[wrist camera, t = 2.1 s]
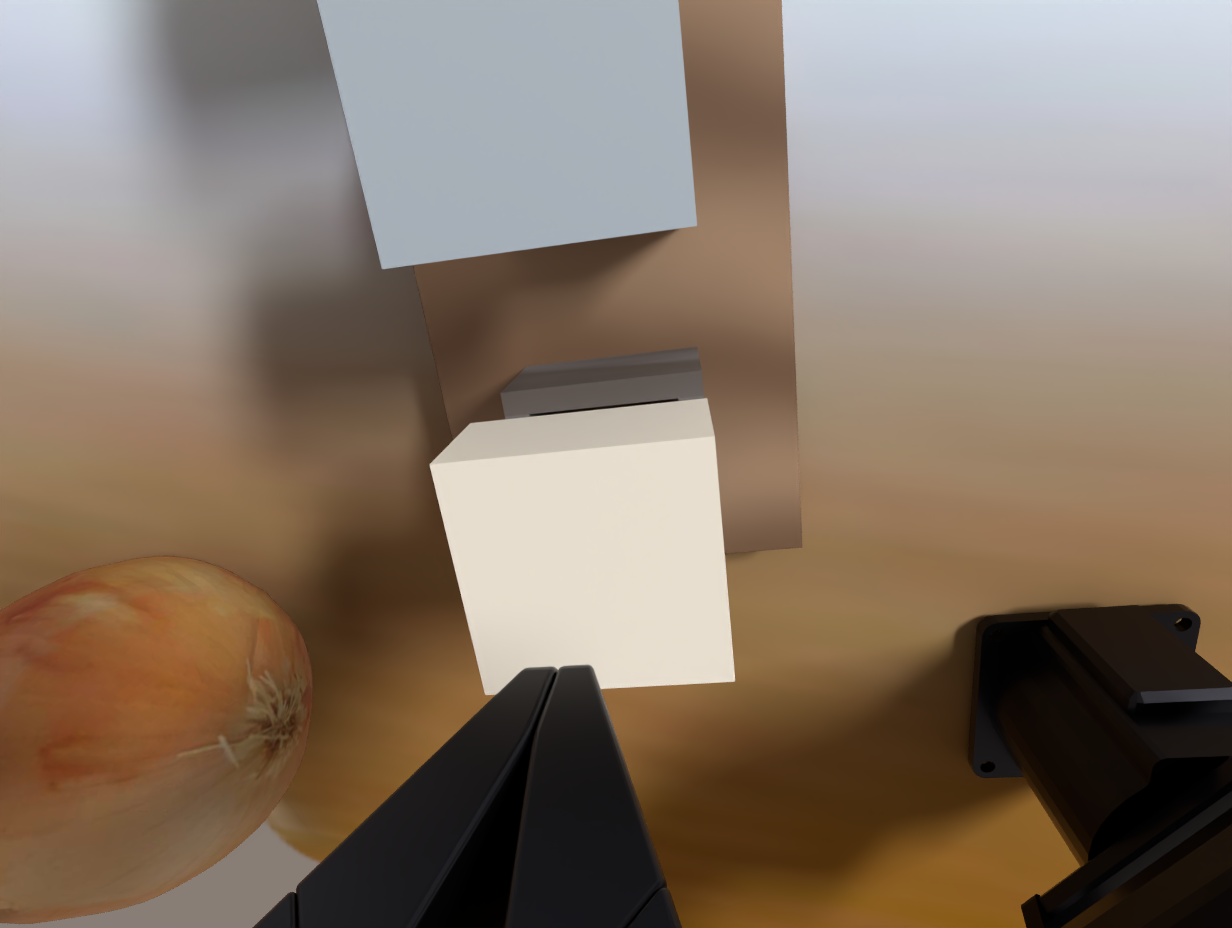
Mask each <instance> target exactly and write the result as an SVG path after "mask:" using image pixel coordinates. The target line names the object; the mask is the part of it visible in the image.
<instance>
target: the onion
mask: <svg viewBox="0 0 1232 928" xmlns="http://www.w3.org/2000/svg"><path fill="white" fill-rule="evenodd" d="M312 700H313V688H312V669H311V664H310V659H309V655H308V652H307V648H306V645H305V642H304V640H303V637H302V635H301V633H300V632H299V630H298V628H297V626H296V625H295V623H294V622H293V621H292V619H291V618H290V617H289V616H288V615H287V614H286V613H285V612H284V610H283V609H282V608H281V607H280V606H279V605H278V604H277V603H276V602H275V601H274V600H273V599H272V598H271V597H270V596H269V595H268V594H267V593H265V592H264V591H263V590H262V589H260V588H258V587H256V586H254V585H252V584H250V583H248V582H246V581H245V580H243V579H242V578H240V577H239V576H237V575H236V574H234V573H232V572H230V571H228V570H226V569H223V568H221V567H218V566H215V565H212V564H209V563H206V562H203V561H199V560H195V559H189V558H183V557H175V556H157V557H146V558H136V559H130V560H126V561H122V562H118V563H113V564H109V565H103V566H98V567H94V568H90V569H87V570H83V571H80V572H76V573H73V574H71V575H68V576H66V577H64V578H62V579H60V580H57V581H55V582H53V583H51V584H49V585H47V586H45V587H43V588H41V589H39V590H37V591H35V592H33V593H31V594H29V595H27V596H25V597H23V598H21V599H19V600H17V601H16V602H14V603H12V604H11V605H9V606H7V607H6V608H4V609H3V610H1V611H0V923H15V924H31V923H32V924H33V923H40V922H48V921H55V920H61V919H67V918H74V917H81V916H87V915H93V914H99V913H104V912H109V911H114V910H118V909H122V908H126V907H129V906H132V905H136V904H140V903H143V902H145V901H148V900H150V899H153V898H155V897H158V896H160V895H162V894H163V893H165V892H168V891H170V890H171V889H173V888H175V887H177V886H179V885H181V884H183V883H185V882H186V881H188V880H190V879H191V878H193V877H195V876H197V875H198V874H200V873H202V872H203V871H205V870H207V869H208V868H210V867H211V866H213V865H214V864H216V863H217V862H218V861H220V860H221V859H223V858H224V857H225V856H227V855H228V854H229V853H230V852H232V851H233V850H234V849H235V848H237V847H238V846H239V845H240V844H241V843H242V842H243V841H244V840H245V839H247V838H248V837H249V836H250V835H251V834H252V833H253V832H254V831H255V830H256V829H257V828H258V827H259V826H260V825H261V824H262V823H263V822H264V821H265V820H266V818H267V817H268V816H269V814H270V813H271V812H272V810H273V809H274V808H275V806H276V805H277V804H278V802H279V801H280V799H281V798H282V797H283V795H284V794H285V792H286V791H287V789H288V787H289V785H290V784H291V782H292V780H293V778H294V776H295V774H296V772H297V770H298V768H299V765H300V763H301V761H302V758H303V755H304V752H305V748H306V743H307V737H308V731H309V725H310V718H311V711H312Z"/></svg>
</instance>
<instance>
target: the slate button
mask: <svg viewBox="0 0 1232 928" xmlns="http://www.w3.org/2000/svg"><path fill="white" fill-rule="evenodd" d="M317 3H318V7H319V12H320V16H321V20H322V24H323V28H324V32H325V36H326V40H327V45H328V49H329V53H330V57H331V61H332V65H333V69H334V73H335V78H336V82H337V86H338V90H339V94H340V98H341V102H342V106H343V110H344V115H345V119H346V123H347V127H348V131H349V135H350V139H351V143H352V148H353V152H354V156H355V160H356V164H357V168H358V172H359V176H360V181H361V185H362V189H363V193H364V197H365V201H366V205H367V209H368V213H369V218H370V222H371V226H372V230H373V234H374V238H375V242H376V246H377V251H378V255H379V259H380V263H381V267H382V269H388V268H395V267H402V266H410V265H417V264H424V263H432V262H439V261H446V260H453V259H461V258H468V257H475V256H482V255H490V254H497V253H504V252H512V251H519V250H526V249H533V248H541V247H548V246H555V245H562V244H570V243H577V242H584V241H592V240H599V239H606V238H613V237H621V236H628V235H635V234H642V233H650V232H657V231H664V230H672V229H679V228H686V227H693V226H697V217H696V205H695V193H694V181H693V169H692V157H691V146H690V134H689V122H688V110H687V98H686V86H685V74H684V62H683V50H682V38H681V26H680V14H679V2H678V0H317Z"/></svg>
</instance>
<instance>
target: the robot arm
mask: <svg viewBox="0 0 1232 928" xmlns="http://www.w3.org/2000/svg"><path fill="white" fill-rule="evenodd" d="M1181 618H1182V620H1181V621H1180V622H1178V623H1176V621H1178V620H1179V619H1181ZM1175 623H1176V624H1175ZM1200 624H1201V622H1200V617H1199V616H1198V614H1196V613H1195V612H1194V611H1192V610H1191V609H1190V608H1188V607H1187V606H1185V605H1182V604H1169V605H1153V606H1138V605H1130V606H1114V607H1099V608H1083V609H1067V610H1057V611H1054V612H1042V613H1026V614H1010V615H994V616H989V617H986V618H985V619H983V620H982V621H981V622H980V623H979V624H978V627H977V632H976V647H975V662H974V678H973V693H972V708H971V723H970V738H969V753H968V761H969V764H970V766H971V768H972V769H973V771H974V773H975V774H976V775H978V776H980V777H983V778H999V777H1024V778H1025V779H1026V781H1027V782H1028V784H1029V786H1030V787H1031V789H1032V790H1033V792H1034V794H1035V795H1036V797H1037V798H1038V800H1039V801H1040V803H1041V805H1042V806H1043V808H1044V809H1045V811H1046V813H1047V814H1048V816H1049V817H1050V819H1051V820H1052V822H1053V824H1054V825H1055V827H1056V828H1057V830H1058V832H1059V833H1060V835H1061V836H1062V838H1063V839H1064V841H1065V843H1066V844H1067V846H1068V847H1069V849H1070V851H1071V852H1072V854H1073V855H1074V857H1075V858H1076V860H1077V862H1078V863H1079V865H1080V866H1081V867H1080V868H1078V869H1077V870H1075V871H1074V872H1073V873H1071V874H1070V875H1069V876H1067V877H1066V878H1065V879H1063V880H1062V881H1061V882H1059V883H1058V884H1056V885H1055V886H1054V887H1052V888H1051V889H1050V890H1048V891H1047V892H1046V893H1044V894H1043V895H1041V896H1040V895H1038V894H1036V895H1034V896H1033V897H1031V898H1030V899H1029V900H1027V901H1026V902H1025V903H1023V904H1022V905H1021V909H1022V912H1023V916H1024V920H1025V924H1026V928H1232V682H1231V681H1230V680H1228V679H1227V678H1226V677H1225V676H1224V675H1222V674H1221V673H1220V672H1219V671H1218V670H1216V669H1215V668H1214V667H1213V666H1212V665H1210V664H1209V663H1208V662H1207V661H1205V660H1204V659H1203V658H1202V657H1201V656H1199V655H1198V654H1197V653H1196V652H1195V649H1196V644H1197V639H1198V634H1199V629H1200ZM996 629H1000V631H999V632H998V633H997V634H994V635H990V634H991V632H993V631H994V630H996ZM987 761H988V762H987ZM984 762H987V763H984ZM982 763H984V764H982ZM253 928H682V926H681V923H680V920H679V917H678V914H677V911H676V909H675V906H674V903H673V900H672V897H671V894H670V891H669V890H668V889H667V884H666V880H665V877H664V874H663V871H662V868H661V866H660V863H659V860H658V857H657V854H656V851H655V848H654V845H653V842H652V839H651V836H650V833H649V830H648V827H647V824H646V821H645V818H644V815H643V812H642V809H641V807H640V804H639V801H638V798H637V795H636V792H635V789H634V786H633V783H632V780H631V777H630V774H629V771H628V768H627V765H626V762H625V759H624V756H623V753H622V751H621V748H620V745H619V742H618V739H617V736H616V733H615V730H614V727H613V724H612V721H611V718H610V715H609V712H608V709H607V706H606V703H605V700H604V697H603V694H602V692H601V689H600V686H599V683H598V680H597V677H596V674H595V671H594V668H593V667H592V666H591V665H568V666H562V667H560V668H559V669H557V668H555V667H553V666H548V667H529V668H525V669H523V670H522V671H520V672H519V673H518V674H517V675H516V676H515V677H514V678H513V679H512V680H511V681H510V682H509V683H508V684H507V685H506V686H505V687H504V688H502V689H501V690H500V691H499V692H498V693H497V694H496V695H495V696H494V697H493V698H492V699H491V700H490V701H489V702H488V703H487V704H486V705H485V706H484V707H483V708H482V709H481V710H480V711H478V712H477V713H476V714H475V715H474V716H473V717H472V718H471V719H470V720H469V721H468V722H467V723H466V724H465V725H464V726H463V727H462V728H461V729H460V730H459V731H458V732H457V733H456V734H454V735H453V736H452V737H451V738H450V739H449V740H448V741H447V742H446V743H445V744H444V745H443V746H442V747H441V748H440V749H439V750H438V751H437V752H436V753H435V754H434V755H433V756H432V757H430V758H429V759H428V760H427V761H426V762H425V763H424V764H423V765H422V766H421V767H420V768H419V769H418V770H417V771H416V772H415V773H414V774H413V775H412V776H411V777H410V778H409V779H408V780H406V781H405V782H404V783H403V784H402V785H401V786H400V787H399V788H398V789H397V790H396V791H395V792H394V793H393V794H392V795H391V796H390V797H389V798H388V799H387V800H386V801H385V802H384V803H382V804H381V805H380V806H379V807H378V808H377V809H376V810H375V811H374V812H373V813H372V814H371V815H370V816H369V817H368V818H367V819H366V820H365V821H364V822H363V823H362V824H361V825H360V826H359V827H357V828H356V829H355V830H354V831H353V832H352V833H351V834H350V835H349V836H348V837H347V838H346V839H345V840H344V841H343V842H342V843H341V844H340V845H339V846H338V847H337V848H336V849H335V850H333V851H332V852H331V853H330V854H329V855H328V856H327V857H326V858H325V859H324V860H323V861H322V862H321V863H320V864H319V865H318V866H317V867H316V868H315V869H314V870H313V871H312V872H311V873H310V874H309V875H307V876H306V877H305V878H304V879H303V880H302V881H301V882H300V883H299V884H298V886H297V888H296V893H294V892H290V893H288V894H287V895H286V896H285V897H284V898H283V899H282V900H281V901H280V902H279V903H278V904H277V905H276V906H275V907H274V908H273V909H272V910H271V911H269V912H268V913H267V914H266V915H265V916H264V917H263V918H262V919H261V920H260V921H259V922H258V923H257V924H256V925H255V926H254V927H253Z"/></svg>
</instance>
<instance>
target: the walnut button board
mask: <svg viewBox="0 0 1232 928" xmlns="http://www.w3.org/2000/svg"><path fill="white" fill-rule="evenodd" d="M678 2H679V14H680V26H681V38H682V50H683V62H684V74H685V86H686V98H687V110H688V122H689V134H690V146H691V157H692V169H693V181H694V193H695V205H696V217H697V226H693V227H686V228H679V229H672V230H664V231H657V232H650V233H642V234H635V235H628V236H621V237H613V238H606V239H599V240H592V241H584V242H577V243H570V244H562V245H555V246H548V247H541V248H533V249H526V250H519V251H512V252H504V253H497V254H490V255H482V256H475V257H468V258H461V259H453V260H446V261H439V262H432V263H424V264H417V265H413V267H414V272H415V276H416V281H417V285H418V290H419V294H420V298H421V303H422V307H423V312H424V316H425V320H426V325H427V329H428V334H429V338H430V342H431V347H432V351H433V356H434V360H435V364H436V369H437V373H438V378H439V382H440V387H441V391H442V395H443V400H444V404H445V409H446V413H447V417H448V422H449V426H450V431H451V435H452V439H453V440H454V439H455V438H456V437H457V436H458V435H459V434H460V433H461V432H462V431H463V430H464V429H465V428H466V427H467V426H468V425H469V424H470V423H477V422H487V421H496V420H506V419H515V418H524V417H534V416H543V415H553V414H562V413H572V412H581V411H591V410H600V409H609V408H619V407H628V406H638V405H647V404H657V403H666V402H676V401H685V400H694V399H704V398H707V400H708V405H709V410H710V415H711V420H712V425H713V430H714V435H715V445H716V457H717V469H718V481H719V493H720V505H721V517H722V529H723V541H724V553H738V552H751V551H763V550H776V549H789V548H802V527H801V500H800V474H799V448H798V421H797V395H796V369H795V342H794V316H793V290H792V263H791V237H790V211H789V184H788V158H787V132H786V106H785V79H784V53H783V27H782V0H678Z"/></svg>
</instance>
